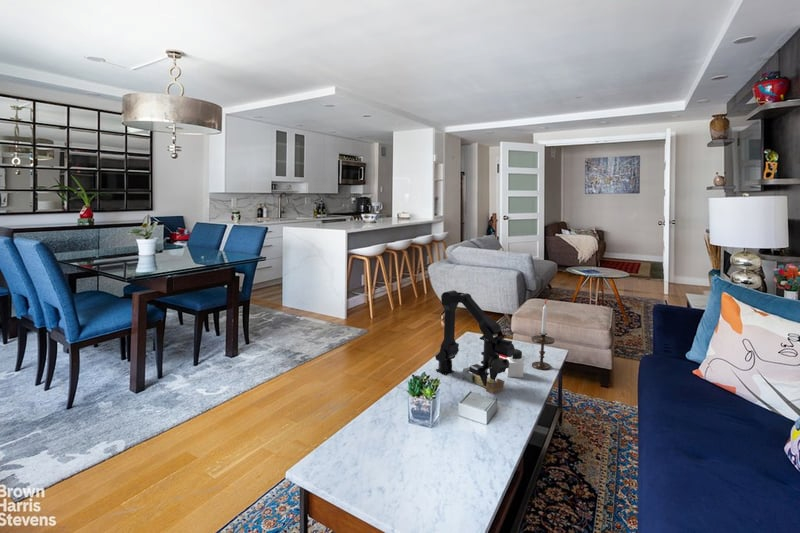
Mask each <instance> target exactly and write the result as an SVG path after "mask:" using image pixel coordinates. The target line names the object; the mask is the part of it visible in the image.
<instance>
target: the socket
mask: <svg viewBox="0 0 800 533" xmlns="http://www.w3.org/2000/svg"><path fill="white" fill-rule="evenodd" d="M495 381H497V383H494V384H492V383H490V382H487V383H486V388H485V392H487V393H489V394H491V395H493V394H497V393H500V392H503V391H504V390H505V389H504V388H505V381H504V380H502V379H500V378H496V379H495Z"/></svg>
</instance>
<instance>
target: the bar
mask: <svg viewBox="0 0 800 533" xmlns="http://www.w3.org/2000/svg"><path fill="white" fill-rule="evenodd" d="M487 382H490V383H492V384H494V383H497V381H496V379H495V380H493V379H491V378H490V376H487ZM473 383H475V384H477V385H479V386H480V387H483V388H484V389H486V386H484V385H483V382H482V380H481V378H480V376H478V375H476V374H473Z"/></svg>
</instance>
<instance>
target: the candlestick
mask: <svg viewBox="0 0 800 533" xmlns="http://www.w3.org/2000/svg"><path fill="white" fill-rule="evenodd" d="M547 300H548V299H547V298H545V300H544V306H543V307H542V316H541V317H542V320H541V321H542V322H541V332H539V334H538V335H533V336H531V341H532V342H533V343H535V344H539V345H540V350H539V352H538V353H539V354H540V355H539V356H538V358H540V359H539V361H533V362H532V363H531V367H532V368H534V369H535V370H539V371H540V370H541V371H548V370H551V369H552V365H551V364H550V363H548V362H545V361H544V359H545V356H544V355H545V354H546V351H545V345H553V344H554V343H555V342H556V341H555V338H554V337H552V336H547V335H548V333H547V331H546V329H547V312H548V307H547V305H546V304H547Z"/></svg>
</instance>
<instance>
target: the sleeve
mask: <svg viewBox="0 0 800 533" xmlns="http://www.w3.org/2000/svg"><path fill="white" fill-rule="evenodd" d="M469 370H470V366H469V367H465V368H463V369H462V380H465V381H466V382H468V383H471V384H474V382H473V374H474V373H472V372H470V371H469Z"/></svg>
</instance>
